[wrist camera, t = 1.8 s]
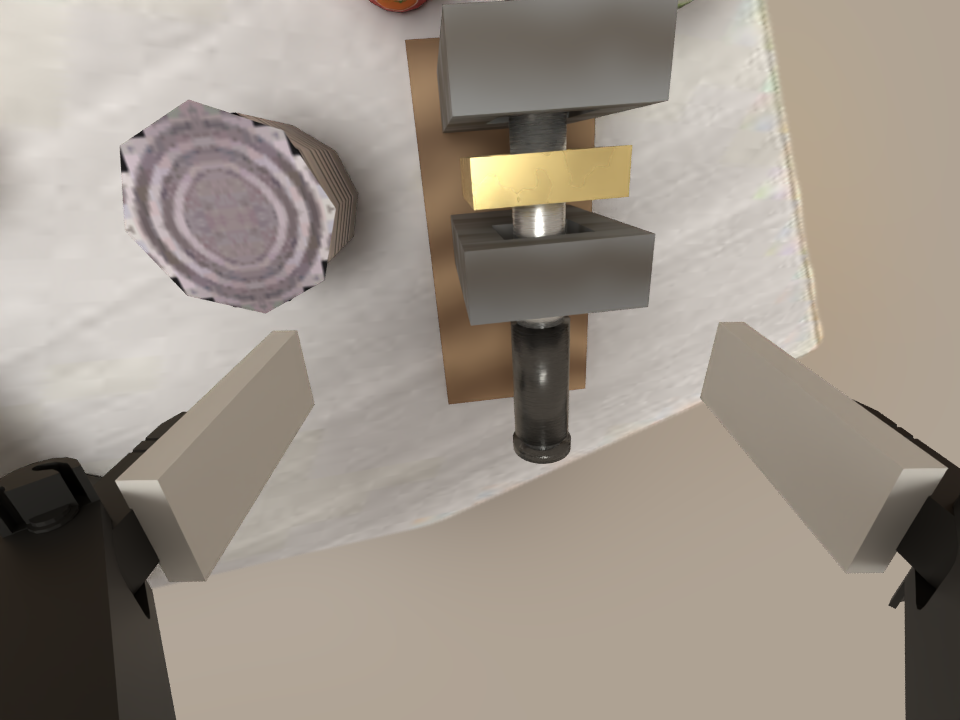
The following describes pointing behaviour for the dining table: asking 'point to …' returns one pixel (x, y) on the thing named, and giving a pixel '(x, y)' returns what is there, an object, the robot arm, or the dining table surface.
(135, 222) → the can
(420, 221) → the dining table surface
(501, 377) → the bearing block stand
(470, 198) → the collar
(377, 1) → the smoothie
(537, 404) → the shaft
